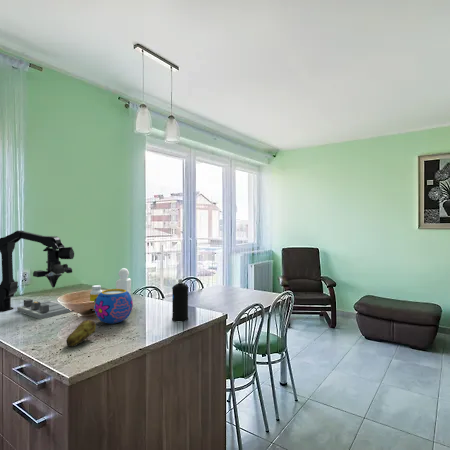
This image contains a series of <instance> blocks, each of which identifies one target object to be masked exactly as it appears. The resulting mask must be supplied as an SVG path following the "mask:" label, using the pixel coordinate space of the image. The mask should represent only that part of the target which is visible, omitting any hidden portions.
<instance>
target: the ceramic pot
mask: <svg viewBox="0 0 450 450" xmlns="http://www.w3.org/2000/svg"><path fill="white" fill-rule="evenodd" d="M94 303H95V305H94V309H95V310H94V313H95V315H96V317H97V319H98V321H100V322H103V323H105V324H111V325H113V324H118V323H121V322H123V321H125V320H127V319H128V317H129V316H130V315H131V312H132V310H133V307H134V305H133V304H134V302H133V298H132V294H131V295H130V294H129V292H128V291H126V290H124V289H116V288H109V289H105V290H102V292H101V293H100V294H99V295H98V296H97V298H96V299H95V301H94Z"/></svg>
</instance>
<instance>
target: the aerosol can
mask: <svg viewBox="0 0 450 450" xmlns="http://www.w3.org/2000/svg"><path fill="white" fill-rule="evenodd" d="M171 289H172V290H171V291H172V294H171V295H172V298H171V299H172V313H171V315H172V317H171V320H172V321H173V320H174V322H176V321H182V322H186V321H188V320H189V289H190V288H189V286H188V285H187V284H186V283H184V282H183V278H178V283H176V284H174V285H173V286H172V287H171ZM185 320H186V321H185Z"/></svg>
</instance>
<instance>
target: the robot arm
mask: <svg viewBox="0 0 450 450" xmlns="http://www.w3.org/2000/svg"><path fill="white" fill-rule="evenodd" d="M21 240H27V241H31V242H35V243H40V244H41V245H42V246H45V248H44V249H43V250H42V251H43V252H46V253H47V259H46V264H47V265H46V266H47V268H46V270H42V269H40V270H34V271H33V273H32V277H35V278H43V277H46V278H47V280H48V282H49V283H50V287H52V288H53V289H54V288H55V287H56V285H57V282H58V280H59V279H60V277H62V276H63V274H65V273H66V274H72V273H73V269H72V267H69V266H68V265H69V264H68V263H63V264H62V263H61V261H60V260H73V259H74V257H75V251H74V249H73V246H69V247H68V246H65V245H64V243H63V242H62V241H61V238H60V237H59V236H56V235H54V236H53V235H42V234H37V233H32V232H30V231H29V232H28V231H24V230H15V231H14V232H12V233H11V234H8V235H6V236H3V237H0V255H1V275H2V276H1V279H2V280H1V282H0V312H4V311H8V310H13V309H14V307H13V306H11V305H12V304H11V303H12V301H11V300H12V297H14V296H15V294H16V292H17V291H18V289H19V286H18V284H19V281H18V280H17V281H15V279H14V272H13V271H14V266H13V264H14V263H13V252H14V250H15V249H16V243H18V242H19V241H21Z"/></svg>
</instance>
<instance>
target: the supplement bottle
mask: <svg viewBox="0 0 450 450" xmlns="http://www.w3.org/2000/svg"><path fill="white" fill-rule="evenodd" d="M102 291H103V290H102V286H101V284H96V285H95V284H94V285H92V286H91V290H90V292H89V302H90V301H95V299H96V298H97V296H98V295H99V294H100V293H101V292H102Z"/></svg>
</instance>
